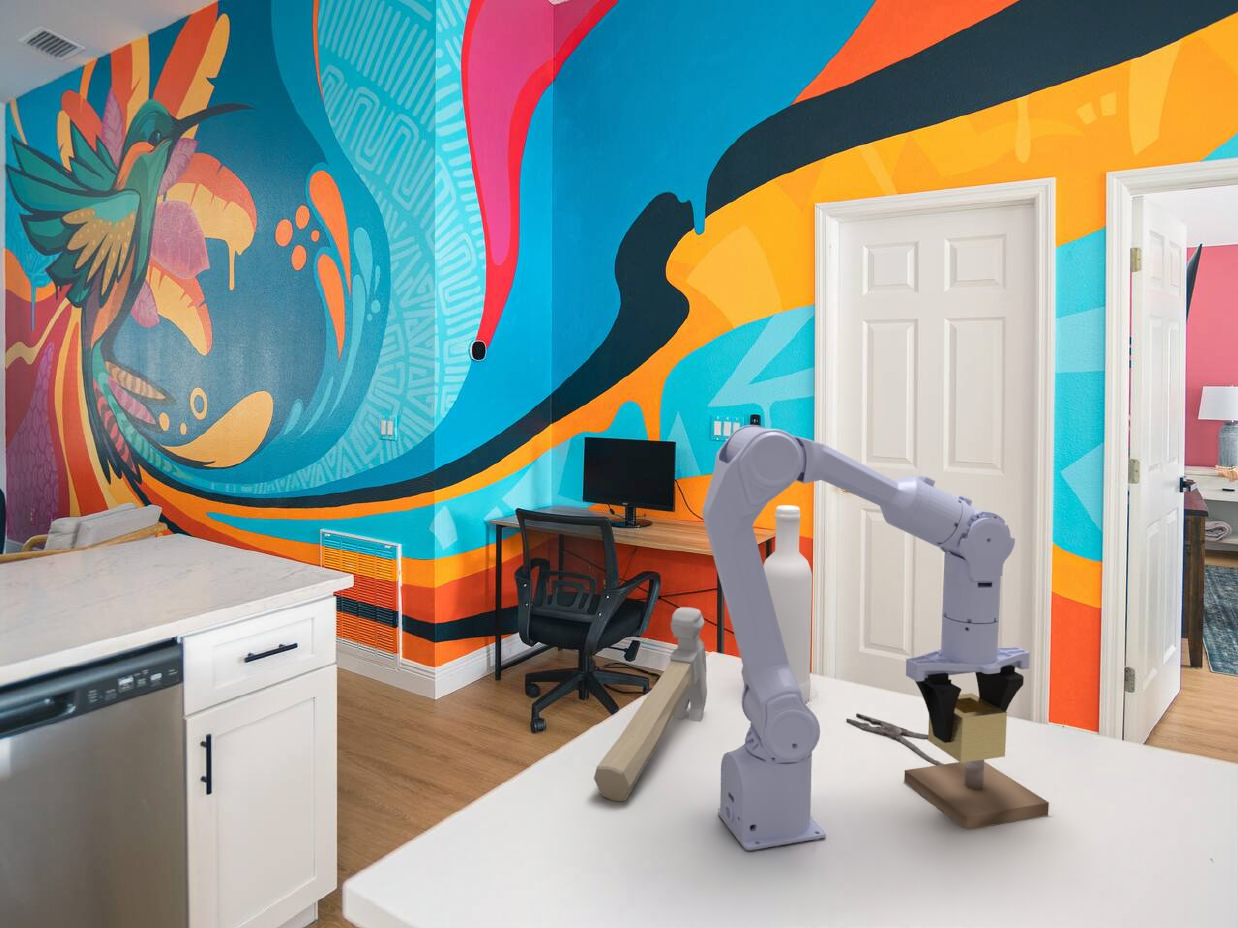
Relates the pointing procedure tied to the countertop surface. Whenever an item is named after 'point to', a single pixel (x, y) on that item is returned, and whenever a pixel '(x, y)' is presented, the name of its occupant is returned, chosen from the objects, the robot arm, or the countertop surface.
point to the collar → (974, 730)
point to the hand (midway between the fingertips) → (965, 735)
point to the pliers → (892, 734)
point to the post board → (975, 794)
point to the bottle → (792, 593)
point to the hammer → (659, 708)
